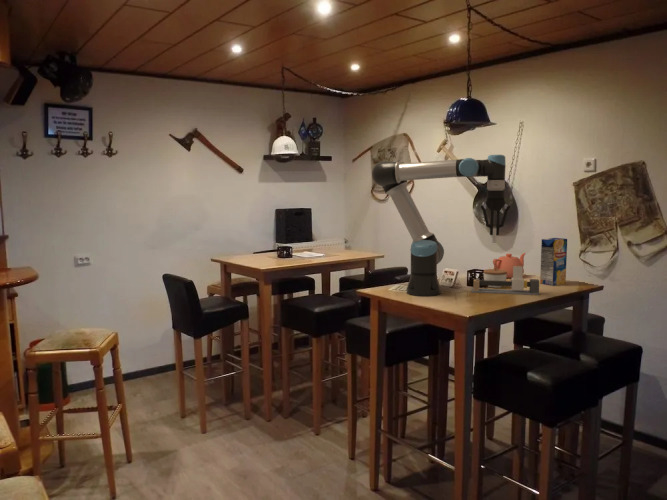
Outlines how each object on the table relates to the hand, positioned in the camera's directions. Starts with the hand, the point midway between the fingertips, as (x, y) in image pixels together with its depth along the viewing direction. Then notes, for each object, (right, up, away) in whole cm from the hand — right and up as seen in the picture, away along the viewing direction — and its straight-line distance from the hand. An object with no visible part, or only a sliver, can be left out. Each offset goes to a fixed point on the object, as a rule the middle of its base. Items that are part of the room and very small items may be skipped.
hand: (494, 242), depth 239 cm
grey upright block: (+10, -21, 0) cm, 23 cm away
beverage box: (+35, -20, +21) cm, 46 cm away
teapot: (+21, -18, +43) cm, 51 cm away
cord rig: (+5, -23, +1) cm, 23 cm away
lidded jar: (+5, -21, +14) cm, 26 cm away
